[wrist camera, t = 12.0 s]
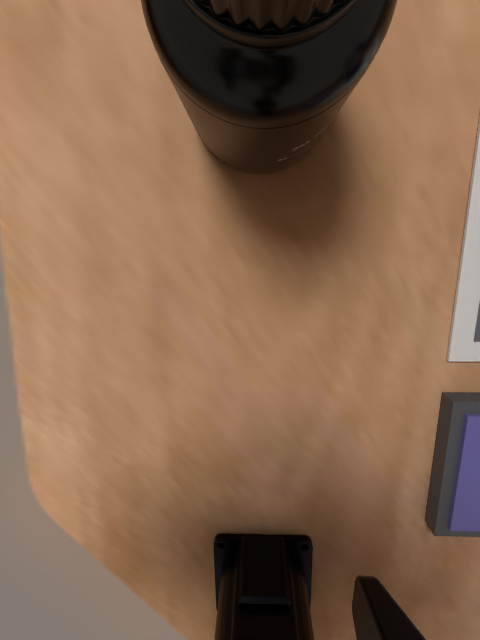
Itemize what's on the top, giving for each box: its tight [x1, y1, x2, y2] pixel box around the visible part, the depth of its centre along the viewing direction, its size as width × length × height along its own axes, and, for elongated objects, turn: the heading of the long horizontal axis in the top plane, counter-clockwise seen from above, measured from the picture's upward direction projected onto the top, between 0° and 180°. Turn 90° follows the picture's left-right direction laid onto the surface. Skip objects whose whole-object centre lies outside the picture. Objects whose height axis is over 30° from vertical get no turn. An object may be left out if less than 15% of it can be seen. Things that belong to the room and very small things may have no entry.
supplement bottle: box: [141, 0, 397, 174], centre depth 11 cm, size 7×7×12 cm
